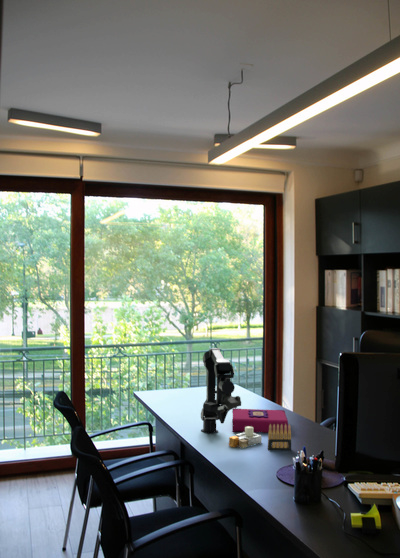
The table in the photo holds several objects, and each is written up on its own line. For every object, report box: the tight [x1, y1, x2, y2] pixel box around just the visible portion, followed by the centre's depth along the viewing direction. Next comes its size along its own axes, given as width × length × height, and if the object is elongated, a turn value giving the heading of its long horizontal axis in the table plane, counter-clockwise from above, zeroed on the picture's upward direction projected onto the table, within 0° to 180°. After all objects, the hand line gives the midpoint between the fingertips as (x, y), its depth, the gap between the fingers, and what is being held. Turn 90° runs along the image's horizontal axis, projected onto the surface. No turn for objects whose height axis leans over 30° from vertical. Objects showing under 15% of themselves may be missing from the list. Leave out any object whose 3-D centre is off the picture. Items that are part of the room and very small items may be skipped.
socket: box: [235, 432, 262, 447], centre depth 254 cm, size 9×9×4 cm
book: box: [231, 408, 289, 435], centre depth 280 cm, size 21×28×8 cm
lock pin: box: [228, 435, 247, 448], centre depth 250 cm, size 3×10×4 cm, turn 129°
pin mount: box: [230, 436, 248, 449], centre depth 250 cm, size 9×3×3 cm, turn 39°
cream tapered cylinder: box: [245, 426, 254, 438], centre depth 255 cm, size 4×4×7 cm
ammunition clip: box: [267, 423, 292, 452], centre depth 244 cm, size 11×2×12 cm, turn 93°
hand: (222, 423), depth 243 cm, fingers closed
